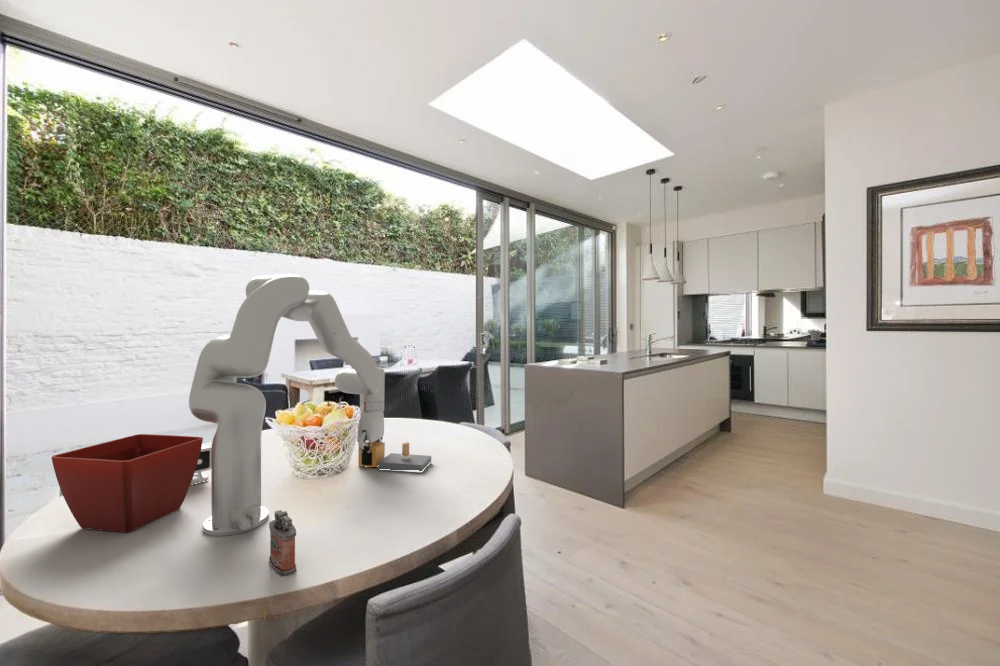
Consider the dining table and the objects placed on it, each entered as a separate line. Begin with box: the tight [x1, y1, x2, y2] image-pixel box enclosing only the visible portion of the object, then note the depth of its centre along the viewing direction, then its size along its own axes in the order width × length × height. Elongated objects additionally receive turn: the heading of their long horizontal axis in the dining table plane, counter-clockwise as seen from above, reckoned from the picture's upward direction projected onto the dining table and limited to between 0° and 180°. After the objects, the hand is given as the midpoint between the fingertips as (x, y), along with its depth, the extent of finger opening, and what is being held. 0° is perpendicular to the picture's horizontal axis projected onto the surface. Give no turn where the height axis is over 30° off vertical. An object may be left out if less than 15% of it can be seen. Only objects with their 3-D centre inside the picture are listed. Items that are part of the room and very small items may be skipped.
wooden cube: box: [357, 441, 386, 468], centre depth 133 cm, size 6×6×6 cm
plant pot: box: [51, 433, 204, 533], centre depth 95 cm, size 19×19×17 cm
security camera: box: [190, 443, 212, 486], centre depth 116 cm, size 6×7×10 cm
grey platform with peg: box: [378, 441, 432, 471], centre depth 131 cm, size 14×9×8 cm, turn 81°
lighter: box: [268, 509, 297, 578], centre depth 77 cm, size 8×3×10 cm, turn 47°
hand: (371, 460), depth 133 cm, fingers closed on wooden cube, 5 cm apart
